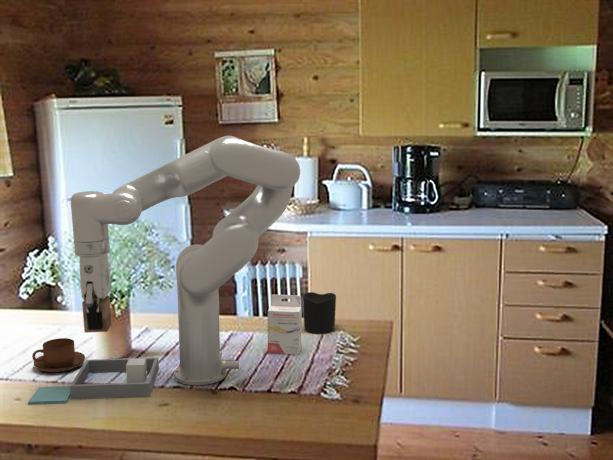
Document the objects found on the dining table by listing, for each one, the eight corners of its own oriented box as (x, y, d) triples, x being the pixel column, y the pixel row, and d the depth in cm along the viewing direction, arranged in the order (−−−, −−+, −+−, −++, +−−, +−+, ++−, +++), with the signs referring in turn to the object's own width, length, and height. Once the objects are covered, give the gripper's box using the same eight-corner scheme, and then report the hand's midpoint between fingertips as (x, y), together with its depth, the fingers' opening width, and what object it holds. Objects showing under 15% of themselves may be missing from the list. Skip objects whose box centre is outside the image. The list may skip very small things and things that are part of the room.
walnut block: (111, 324, 160) (109, 295, 159) (107, 331, 156) (105, 301, 154) (89, 325, 160) (87, 296, 159) (84, 332, 155) (82, 302, 154)
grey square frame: (158, 369, 169) (158, 357, 168) (150, 396, 153) (149, 383, 153) (86, 371, 167) (86, 359, 167) (70, 399, 152) (69, 386, 151)
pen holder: (318, 336, 193) (318, 302, 191) (296, 328, 200) (296, 295, 198) (342, 329, 199) (342, 296, 197) (320, 322, 206) (320, 289, 204)
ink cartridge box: (267, 353, 180) (266, 299, 177) (269, 347, 184) (269, 293, 182) (299, 355, 179) (299, 300, 176) (301, 348, 184) (301, 294, 181)
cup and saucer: (50, 380, 163) (48, 355, 162) (24, 367, 170) (23, 344, 169) (95, 366, 172) (93, 342, 170) (69, 354, 179) (67, 331, 178)
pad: (75, 388, 158) (75, 385, 158) (66, 403, 150) (66, 400, 150) (39, 389, 157) (39, 386, 157) (28, 404, 149) (28, 401, 149)
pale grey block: (147, 378, 163) (146, 358, 163) (144, 385, 160) (143, 364, 159) (129, 379, 163) (128, 359, 162) (127, 385, 159) (125, 365, 158)
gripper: (101, 254, 146) (107, 336, 150) (116, 239, 163) (121, 313, 166) (65, 256, 146) (72, 338, 149) (83, 240, 162) (89, 314, 166)
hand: (98, 324), depth 158 cm, fingers closed on walnut block, 5 cm apart
